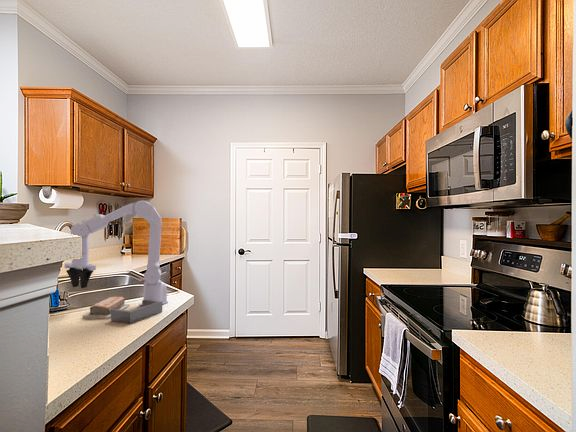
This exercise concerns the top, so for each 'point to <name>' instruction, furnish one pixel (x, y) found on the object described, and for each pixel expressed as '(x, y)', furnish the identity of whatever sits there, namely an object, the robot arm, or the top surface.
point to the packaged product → (105, 308)
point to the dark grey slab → (137, 312)
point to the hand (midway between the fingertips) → (79, 287)
